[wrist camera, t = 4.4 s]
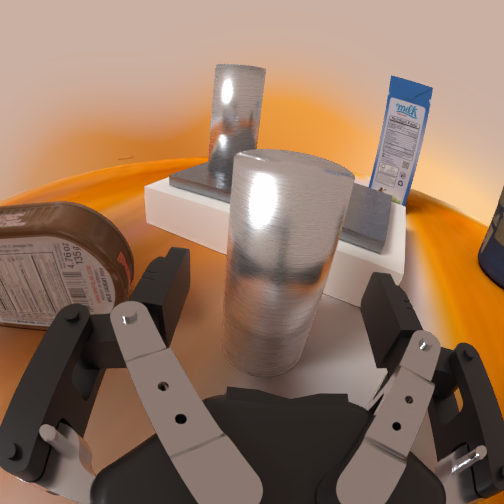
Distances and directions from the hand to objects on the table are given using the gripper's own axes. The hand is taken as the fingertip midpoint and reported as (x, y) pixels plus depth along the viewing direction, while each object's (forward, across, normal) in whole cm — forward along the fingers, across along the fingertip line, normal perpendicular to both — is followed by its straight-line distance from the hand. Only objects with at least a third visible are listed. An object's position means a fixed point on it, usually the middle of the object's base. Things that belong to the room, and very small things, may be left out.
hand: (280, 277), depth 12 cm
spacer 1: (+20, +5, +1) cm, 21 cm away
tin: (0, +15, +7) cm, 17 cm away
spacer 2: (+2, 0, +7) cm, 7 cm away
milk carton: (+33, -20, +7) cm, 39 cm away
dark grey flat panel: (+18, -2, +2) cm, 18 cm away
